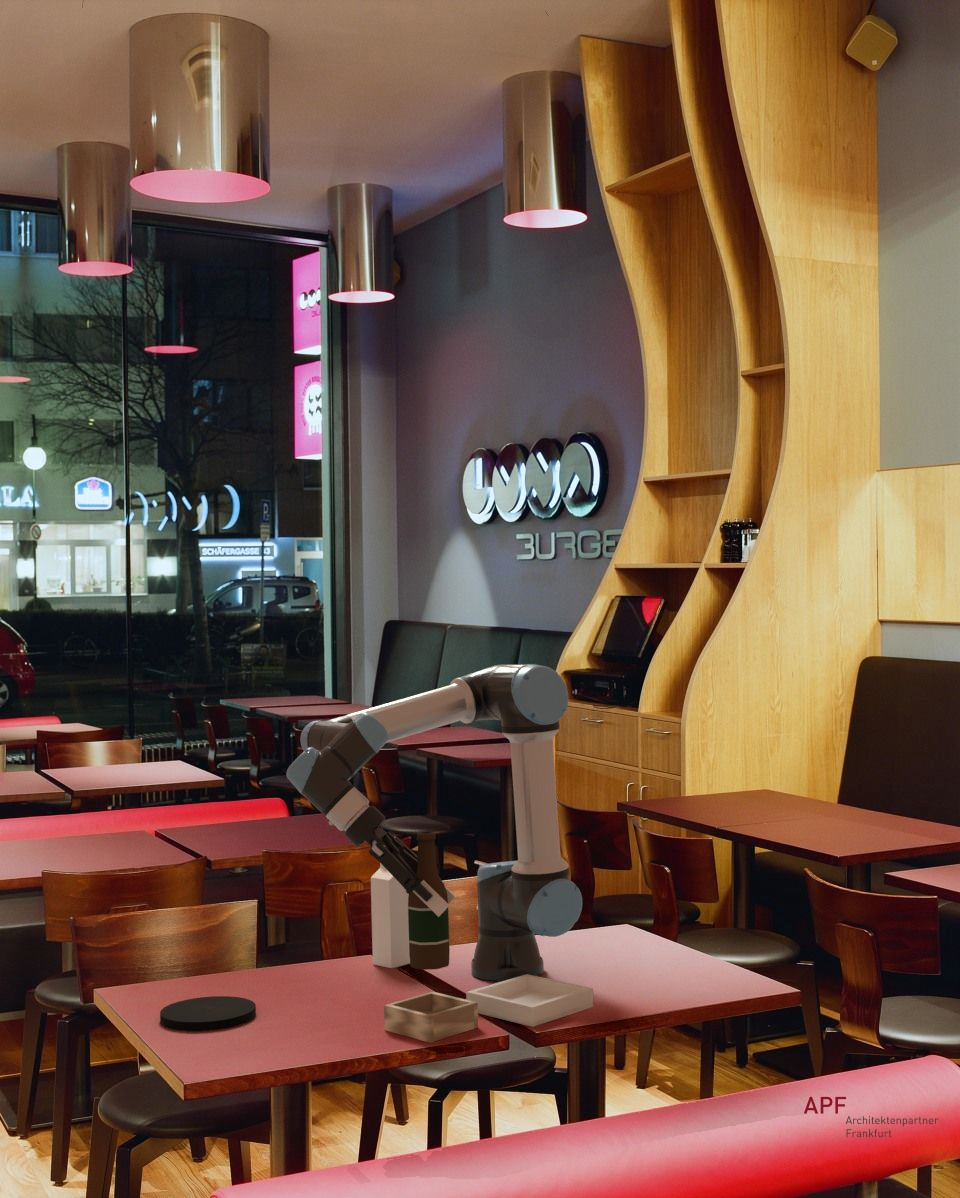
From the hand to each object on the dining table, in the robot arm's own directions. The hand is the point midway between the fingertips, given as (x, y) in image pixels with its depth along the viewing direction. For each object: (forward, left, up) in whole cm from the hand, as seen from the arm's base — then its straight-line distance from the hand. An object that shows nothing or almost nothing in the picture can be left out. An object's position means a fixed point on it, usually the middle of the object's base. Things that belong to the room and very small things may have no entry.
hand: (447, 906), depth 255 cm
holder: (-3, -2, -22) cm, 22 cm away
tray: (+2, +19, -22) cm, 29 cm away
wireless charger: (-41, -24, -23) cm, 53 cm away
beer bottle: (-3, -2, -11) cm, 11 cm away
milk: (-45, +26, -22) cm, 56 cm away
